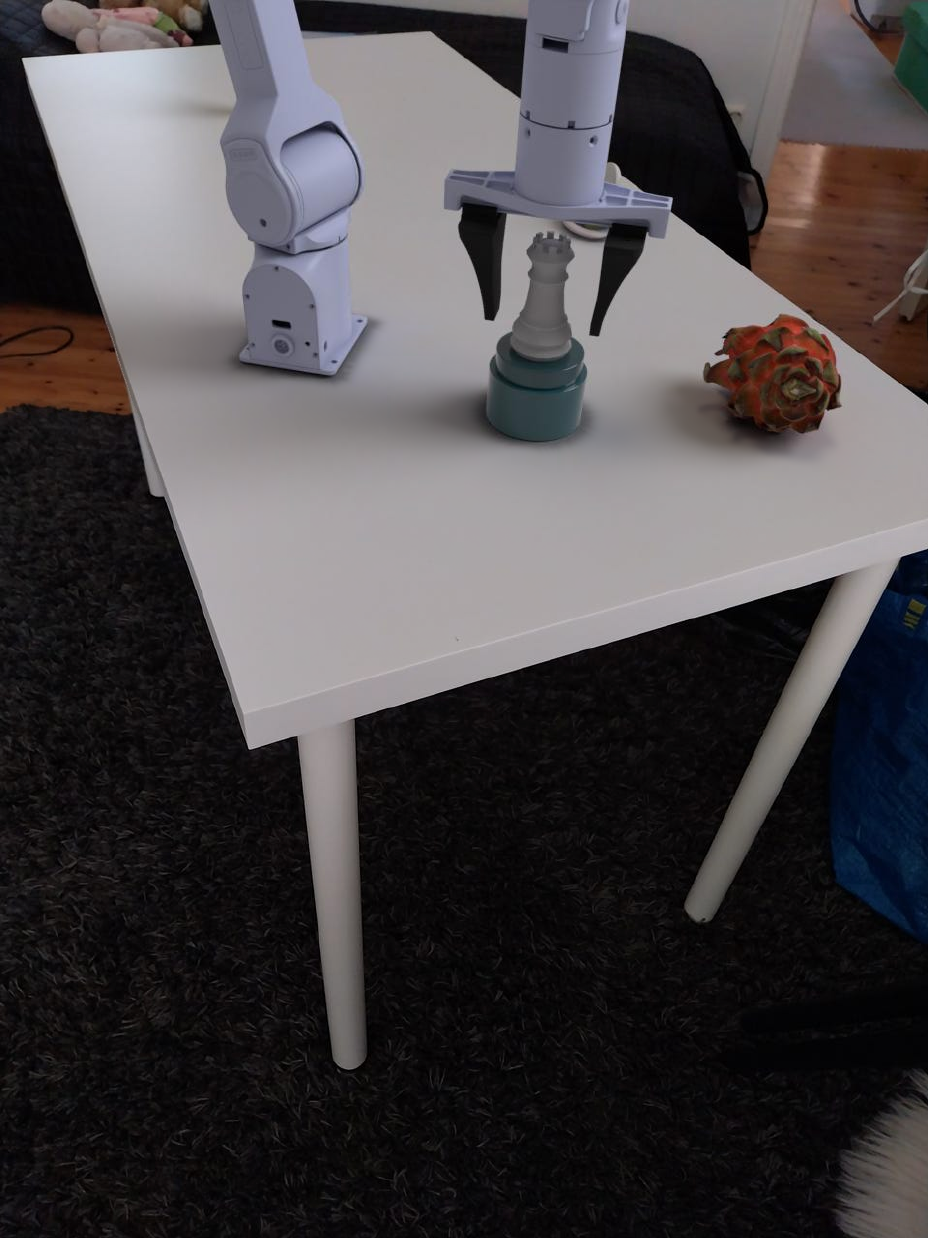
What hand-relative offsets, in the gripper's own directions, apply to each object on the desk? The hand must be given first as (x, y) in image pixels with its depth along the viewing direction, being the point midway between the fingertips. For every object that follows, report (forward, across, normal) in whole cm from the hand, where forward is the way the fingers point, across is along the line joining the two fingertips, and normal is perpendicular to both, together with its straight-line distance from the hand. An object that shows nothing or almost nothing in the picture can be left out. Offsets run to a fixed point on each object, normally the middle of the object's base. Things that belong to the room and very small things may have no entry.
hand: (543, 321), depth 68 cm
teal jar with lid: (+8, 0, 0) cm, 8 cm away
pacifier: (+8, 0, -36) cm, 37 cm away
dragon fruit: (+8, -17, -5) cm, 19 cm away
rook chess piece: (+2, 0, 0) cm, 2 cm away
